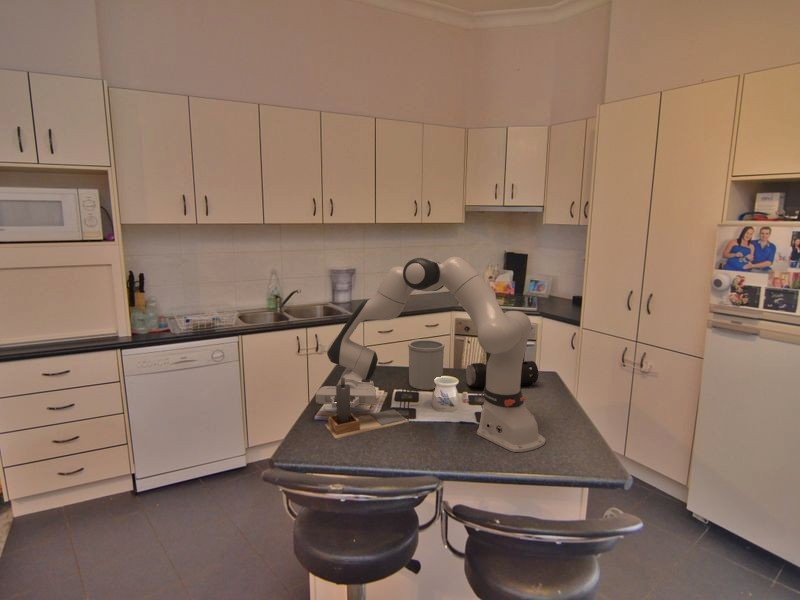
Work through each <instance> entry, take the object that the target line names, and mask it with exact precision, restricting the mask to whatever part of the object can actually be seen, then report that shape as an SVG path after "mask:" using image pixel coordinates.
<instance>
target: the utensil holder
mask: <svg viewBox="0 0 800 600" xmlns="http://www.w3.org/2000/svg"><path fill="white" fill-rule="evenodd" d="M407 345H408V346H407V347H408V377H409V378H408V381H409V386H410V387H412V388H414V389H417V390H425V391H427V390H428V391H429V390H430V391H431V390H435V389H434V388H435V384H434V379H435V378H436V377H441V376H444V353H445V352H444V351H445V343H444V342H443V341H441V340H437V339H433V338H432V339H429V338H422V339H421V338H420V339H418V338H417V339H413V340H410V341H409V342H408V344H407Z"/></svg>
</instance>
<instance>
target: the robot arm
mask: <svg viewBox="0 0 800 600" xmlns="http://www.w3.org/2000/svg"><path fill="white" fill-rule="evenodd" d="M444 287H445V288H446V289H447V290H448V291H449V293H450V294H451V295H452V296H453V297H454V298H455V300H456V301H457V302H458V303H459V305H460V306H461V307H462V308H463V309H464V311H465V312H466V313H467V314H468V316H469V318H470V320H471V322H472V323H473V326H474V327H475V330H476V332H477V340H478V341H477V342H478V343H479V346H480V347H481V349H482V350H483V351H485V353H488V354H490V356H489V358H488V360H487V362H486V364H487V369H486V386H485V387H484V388H483V399H484V402H483V405H482V408H481V414H480V420H479V424H478V429H477V430H476V435H478V436H480V437H481V438H484V439H486V440H487V441H490V442H492V443H494V444H496V445H497V446H499V447H502V448H504V449H506V450H508V451H510V452H513V453H514V452H515V453H523V452H528V451H529V452H530V451H533V450H537V449H539V448H542V447H543V445H545V444H546V441H547V440H546V438H545V437H544V436H542V435H541V433H539V427H538V423H537V421H536V417H535V415H533V414H531V412H530V411H529V409H528V407H526V405H525V403H524V402H525V401H526V400H527V399H526V398H527V397H526V396H523V393H522V389H521V385H520V384H521V370H522V363H523V361H524V358H525V353H526V349H527V344H528V341H529V335H530V332H531V329H532V321H531V319H530V318H529V316H528V315H527V314H526V313H525V312H522V311H521V310H520V311H518V310H509V311H505V312H504V311H503V310H502V308H501V306H500V304H499V302H498V300H497V294H496V292H495V291H494V289H492V287H491V286H490V285H489V284H488V283H487V281H485V279H484V278H483V277H482V276H481V274H480V273H479V272H477V270H476V269H475V268H474V267H473V266H472V265H470V263H468V262H467V261H466V260H464V259H463V258H462V257H459V256H451V257H449V258H447V259H445V261H443V262H442V263H441V262H440V261H439V262H438V261H436V260H433V259H432V258H431V259H430V258H424V257H416V258H413V259H411V260H409V261H407V263H406V264H405V265H404V266H398V265H397V266H393V267H391V268H390V269H389V271H388V272H387V273H386V275H385V276H384V278H383V279H382V281H381V283H380V285H379V287H378V288H377V291H376V292H375V294H374V295H373V296H372V297H371V298H369V299H364V300H363V301H361V302H360V303H359V305H358V306H357V308H356V309H355V310H354V312H353V313H352V314H351V316H350V317H349V319H348V320H347V322H346V323H345V324H344V326H343V328H341V331H340V332H339V333H338V335H336V337H334V339H332V340H331V342H330V344H329V346H328V347H327V351H326V354H327V357H328V360H329V361H330V363H333V364H336V365H338V366H341V367H343V368H345V369H344V371H343V372H342V374H341V376H340V379H339V380H338V382H337V384H336V386H338V385H341V378H342V377H344V378H345V384H346V385H349V386H350V409H351V408H352V409H355V407H356V406H358V405H366V406H367V405H373V406H374V405H375V404H376V403H377V392H376V391H377V390H376V386H374V385H375V384H374V381H373V380H371V378H372V377H373V375H374V373H375V371H376V368H377V365H378V360H379V359H378V355H377V354H378V353H377V352H376V351H374V350H373V349H370V348H369V347H367V346H364V345H362V344H360V343H357V342H355V341H353V340H351V336H352V335H353V333H354V332H355V330H356V329H357V328H358V326H359V325H360V324H361V323H362V322H363V321H367V320H368V321H369V320H372V321H373V320H374V321H390V320H393V319H396V318H397V317H399V316H400V315H401V313H402V311H403V310H404V308H405V306H406V304H407V301H408V300H409V297H410V296H411V294H412V293H413V292H415V290H416V291H421V292H436V291H440V290H441V289H443V288H444ZM336 386H333V385H330V386H328V385H325V386H321V387H320V388H319V389H317V391H316V393H315V403H317V404H321V405H323V404H324V405H325V404H326V405H331V408H337V403H336Z"/></svg>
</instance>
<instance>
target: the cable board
mask: <svg viewBox="0 0 800 600" xmlns="http://www.w3.org/2000/svg"><path fill="white" fill-rule="evenodd" d="M350 419H351V422H348V423H344V424H339V425H338V424H337V414H333V415H328V416H327V423H324V424H323V425H324V426H325V427H326V428H327V430H328V431H329V432H330V434H331V435H332V436H333V437H334V439H340V438H346V437H350V436H353V435H357V434H362V433H367V432H371V431H375V430H379V429H383V428H387V427H388V428H389V427H391V426H396V425H401V424H404V423H407V424H408V425H410V421H409V420H408V419H407V418H405V417H404V416H403V415H402V414H401V413H400V412H398V411H397V410H396V409H394V408H393V409H387V410H384V411H379V412H374V413H369V414H364V415H360V416H355V414H354V413H353V412H352V411H350Z"/></svg>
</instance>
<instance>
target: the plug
mask: <svg viewBox="0 0 800 600" xmlns="http://www.w3.org/2000/svg"><path fill="white" fill-rule="evenodd" d="M340 378H341V377H340ZM337 385H338V384H337ZM337 385H336V403H337V407H336V415H337V424H338V425H339V424H344V423H348V422H351V419H350V412H351V408H350V386H349V385H346V384H345V378H344V377H342V378H341V385H338V386H337Z"/></svg>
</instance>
